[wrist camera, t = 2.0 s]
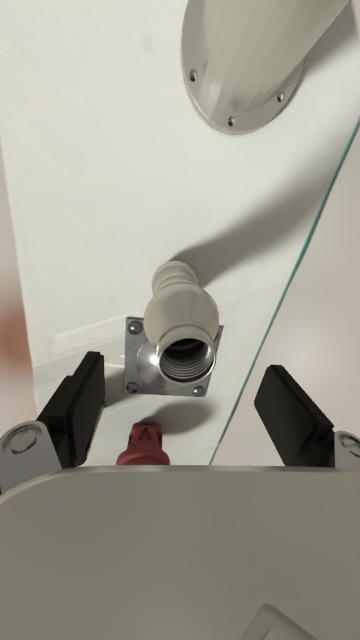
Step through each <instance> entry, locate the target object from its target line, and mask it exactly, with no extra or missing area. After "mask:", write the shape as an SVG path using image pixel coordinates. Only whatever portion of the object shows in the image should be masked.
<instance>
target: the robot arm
mask: <svg viewBox="0 0 360 640" xmlns="http://www.w3.org/2000/svg"><path fill="white" fill-rule="evenodd" d="M349 1H350V0H188V4H187V7H186V11H185V16H184V22H183V28H182V39H181V65H182V71H183V77H184V82H185V85H186V89H187V92H188V95H189V97H190V99H191V101H192V103H193V105H194V107H195V109H196V111H197V112H198V113H199V115H200V116H201V117H202V119H203V120H204V121H205V122H207V123H208V124H209V125H210V126H211V127H213V128H214V129H216V130H218V131H220V132H222V133H226V134H229V135H243V134H247V133H251V132H253V131H255V130H257V129H259V128H261V127H262V126H264V125H265V124H266V123H268V122H269V121H270V120H271V119H272V118H273V117H274V116H275V115H276V114H277V113H278V112H279V111H280V110H281V109H282V107H283V106H284V105H285V104H286V102H287V101H288V99H289V97H290V96H291V94H292V92H293V91H294V89H295V87H296V84H297V82H298V80H299V77H300V75H301V72H302V69H303V65H304V62H305V58H306V54H307V53H308V52H309V50H310V49H311V48H312V47H313V46H314V44H315V43H316V42H317V41H318V39H319V38H320V37H321V36H322V35H323V33H324V32H325V31H326V30H327V28H328V27H329V26H330V25H331V23H332V22H333V21H334V20H335V19H336V17H337V16H338V15H339V14H340V12H341V11H342V10H343V9H344V8H345V6H346V5H347V4H348V3H349ZM192 78H193V79H194V81H195V82H192V81H191V80H190V79H192ZM277 99H278V100H279V102H278V100H277ZM228 123H231V124H232V127H230V126H229V124H228ZM104 396H105V381H104V355H100V352H93V351H88V352H87V354H86V355H85V357H84V359H83V360H82V362H81V363H80V365H79V366H78V368H77V369H76V371H75V373H74V374H73V376H69V375H68V376H66V377H65V378H64V380H63V381H62V383H61V384H60V386H59V387H58V388H57V390H56V391H55V393H54V394H53V396H52V397H51V399H50V400H49V402H48V403H47V405H46V406H45V408H44V409H43V410H42V412H41V413H40V415H39V416H38V418H37V419H36V421H27V422H24V423H21V424H18V425H17V426H15V427H13V428H11V429H10V430H8V431H7V432H6V433H5V434H4V435H3V436H2V437H1V438H0V640H360V438H358V437H356V436H355V435H353V434H351V433H348V432H345V431H337V432H333V430H332V429H333V427H334V425H333V424H332V423H331V421H330V420H329V419H328V418H327V417H326V416H325V414H324V413H323V412H322V411H321V410H320V409H319V408H318V406H317V405H316V404H315V403H314V402H313V401H312V399H311V398H310V397H309V396H308V395H307V394H306V393H305V391H304V390H303V389H302V388H301V387H300V386H299V384H298V383H297V382H296V381H295V380H294V379H293V378H292V376H291V375H290V374H289V373H288V372H287V371H286V369H285V368H284V367H283V366H281V365H270V366H269V367H267V369H266V371H265V374H264V377H263V379H262V382H261V385H260V387H259V390H258V392H257V395H256V398H255V400H254V405H255V408H256V410H257V412H258V414H259V416H260V418H261V420H262V421H263V423H264V426H265V427H266V430H267V432H268V434H269V435H270V437H271V439H272V441H273V443H274V445H275V447H276V449H277V451H278V453H279V455H280V457H281V459H282V461H283V463H284V464H285V466H215V465H214V466H213V465H114V466H87V467H76V468H75V466H79V465H80V463H81V461H82V458H83V455H84V452H85V450H86V447H87V444H88V441H89V439H90V436H91V433H92V430H93V428H94V425H95V422H96V419H97V417H98V414H99V411H100V408H101V406H102V403H103V400H104Z"/></svg>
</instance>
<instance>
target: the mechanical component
mask: <svg viewBox="0 0 360 640" xmlns="http://www.w3.org/2000/svg"><path fill="white" fill-rule="evenodd" d="M116 465H170V460H169V457H168V455H167V454H166V453H165V452H164V451H162V433H161V431H160V425H159V424H153V425H140V424H134V425H133V427H132V431H131V433H130V435H129V441H128V447H127V450H125V451H124V452H122V453H121V454H120V455H119V457H118V458H117V462H116Z"/></svg>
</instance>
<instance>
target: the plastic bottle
mask: <svg viewBox="0 0 360 640" xmlns="http://www.w3.org/2000/svg"><path fill="white" fill-rule="evenodd" d="M152 292H153V295H154V296H153V297H152V299H151V300H150V302H149V304H148V306H147V308H146V311H145V314H144V320H143V326H144V330H145V333H146V336H147V338H148V340H149V342H150V344H151V345H152V346H153V348H155V349H156V350H157V364H158V369H159V371H160V373H161V375H162V376H163V377H164V378H165V379H166V380H168V381H169V382H171V383H174V384H178V385H190V384H194V383H197V382H199V381H201V380H203V379H205V378H206V377H207V376H208V375H209V374H210V373H211V372H212V370H213V369H214V366H215V364H216V351H215V348H214V342H213V340H214V338H215V336H216V334H217V331H218V326H219V312H218V308H217V305H216V303H215V301H214V300H213V298H212V297H211V296H210V295H209V294H208V293H207V292H206V291H205V290H204V289H202V288H201V287H199V286H198V278H197V274H196V272H195V271H194V269H193V268H192V267H191V266H190V265H188V264H187V263H185V262H181V261H170V262H167V263H165V264H163V265H162V266H160V267H159V268H158V269H157V271H156V272H155V274H154V276H153V279H152Z"/></svg>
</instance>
